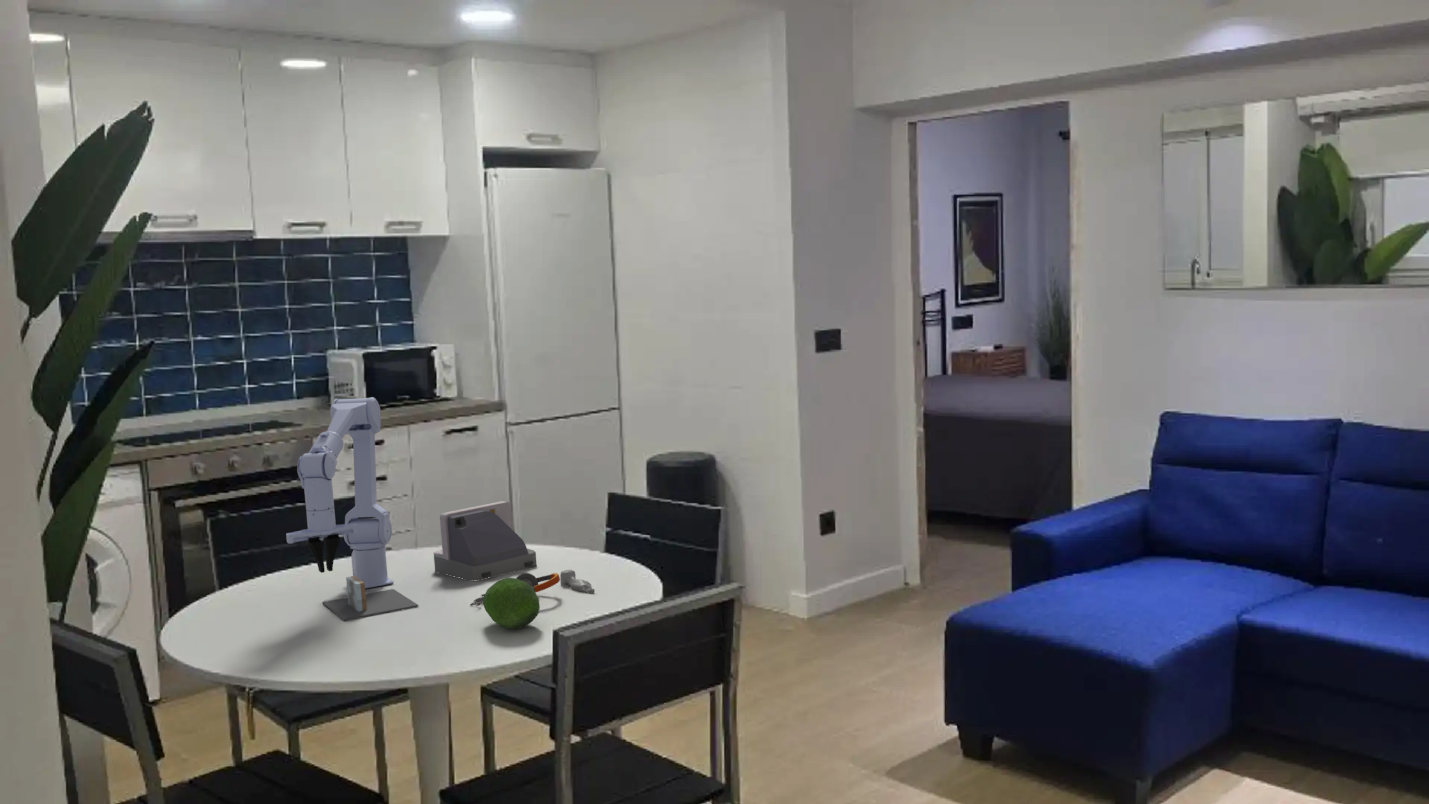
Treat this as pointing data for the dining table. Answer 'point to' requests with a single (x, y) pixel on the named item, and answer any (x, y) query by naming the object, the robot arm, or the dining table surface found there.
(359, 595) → the tile
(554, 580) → the headphones
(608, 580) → the dining table surface
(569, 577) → the figurine
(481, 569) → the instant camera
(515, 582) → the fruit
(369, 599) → the mat
